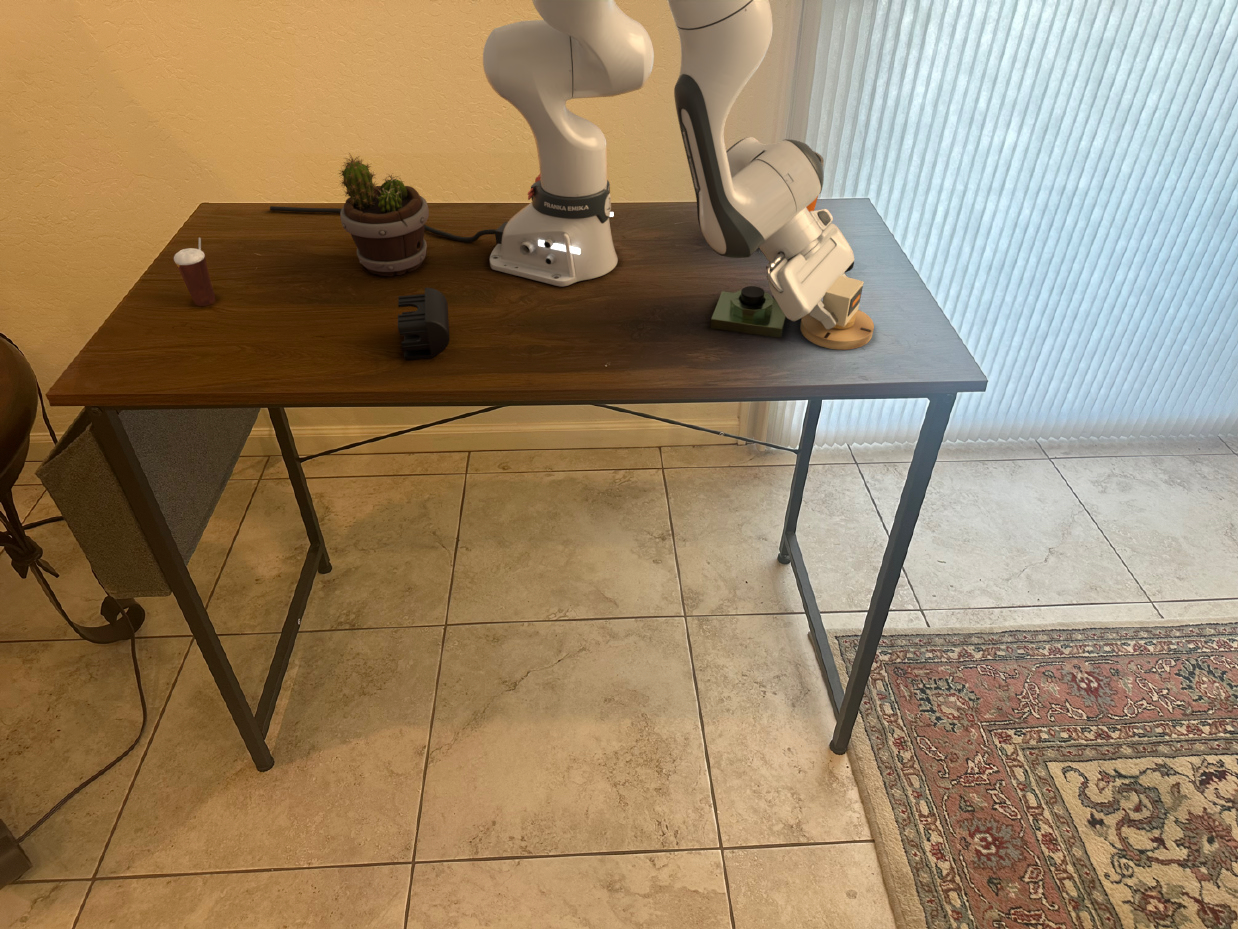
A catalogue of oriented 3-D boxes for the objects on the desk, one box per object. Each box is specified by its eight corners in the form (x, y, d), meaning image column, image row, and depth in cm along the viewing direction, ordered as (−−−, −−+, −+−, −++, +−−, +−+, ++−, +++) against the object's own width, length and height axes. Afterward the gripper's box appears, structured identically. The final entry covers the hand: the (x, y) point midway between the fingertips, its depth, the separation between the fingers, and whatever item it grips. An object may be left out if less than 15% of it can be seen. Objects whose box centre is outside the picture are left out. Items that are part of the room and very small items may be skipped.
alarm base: (710, 328, 135) (711, 308, 132) (721, 300, 141) (722, 281, 139) (780, 338, 132) (783, 318, 130) (788, 309, 139) (791, 289, 137)
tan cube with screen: (860, 316, 134) (867, 282, 130) (846, 333, 130) (853, 299, 126) (829, 307, 136) (835, 273, 132) (815, 324, 132) (820, 290, 128)
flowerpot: (441, 242, 158) (424, 132, 145) (429, 283, 146) (410, 167, 133) (361, 244, 157) (337, 134, 144) (344, 285, 146) (316, 169, 133)
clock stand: (858, 357, 128) (860, 348, 127) (789, 337, 132) (790, 328, 131) (881, 323, 135) (883, 314, 134) (815, 305, 140) (816, 297, 139)
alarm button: (738, 305, 134) (739, 295, 133) (742, 294, 136) (743, 284, 135) (761, 308, 133) (762, 298, 132) (765, 297, 136) (766, 287, 134)
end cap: (452, 357, 129) (446, 318, 124) (404, 362, 128) (396, 323, 123) (450, 323, 136) (444, 285, 132) (405, 327, 135) (397, 289, 131)
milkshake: (229, 295, 143) (210, 240, 137) (205, 310, 140) (184, 254, 133) (209, 290, 145) (189, 234, 138) (184, 305, 141) (163, 248, 135)
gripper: (778, 258, 120) (833, 338, 123) (832, 205, 133) (881, 277, 136) (746, 279, 125) (800, 355, 127) (801, 225, 138) (849, 295, 141)
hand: (842, 314), depth 132 cm, fingers closed on tan cube with screen, 6 cm apart
